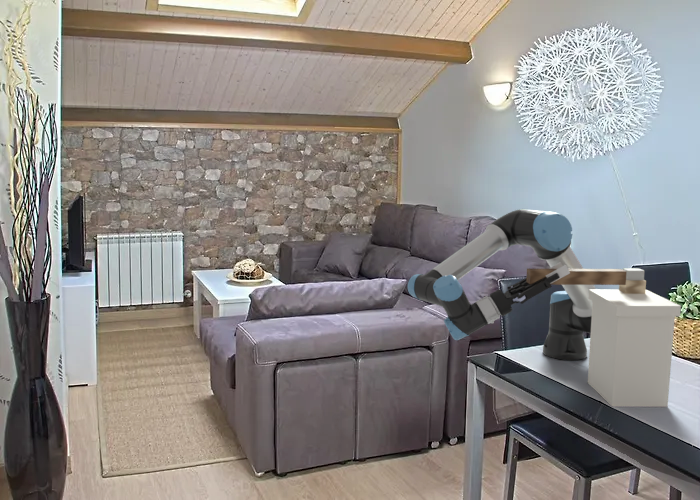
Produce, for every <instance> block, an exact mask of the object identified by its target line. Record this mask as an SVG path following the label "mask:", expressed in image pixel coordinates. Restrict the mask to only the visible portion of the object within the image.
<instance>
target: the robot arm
mask: <svg viewBox="0 0 700 500" xmlns="http://www.w3.org/2000/svg"><path fill="white" fill-rule="evenodd" d="M572 231H573V227H572V224H571V221H570V220H569V219H568V218H567V216H565V215H563V214H561V213H558V212H555V211H550V210H549V211H548V210H546V211H545V210H535V209H528V208H521V209H515V210H512V211H510V212H507V213H506V214H504V215H502V216H500V217H499V218H497V219H495V220H494V221H492V222H491V223H490V224H488V225H487V226H486V228H485V231H484V232H482V233H481V234H480V235H478V236H477V237H476V238H474V239H473V240H471V241H470V242H468V243H467V244H465V245H464V246H463V247H461V248H460V249H459V250H457V251H455V252H454V253H452V255H449V257H447V258H446V259H444V260H443V261H442V262H440V263H439V264H438V265H436V266H435V267H433V268H432V269H431V270H429V271H428V272H426V273H425V274H422V273H420V274H419V273H417V274H413V275H412V276H411V277H410V278H409V280H408V282H407V291H408V294H409V295H410V296H412V297H413V298H414V299H417V300H419V301H423V302H427V303H430V304H432V305H436V306H439V307H442V308H443V310H444V311H445V313H446V315H447V316H446V318H444V320H443V323H444V325H445V326H446V329H447V331H448V332H449V335H451V337H452V339H453V340H455V341H459V340H461V339H463V338H466V337H468V336H470V335H472V334H473V333H474V332H477V331H478V330H480V329H482V328H483V327H485V326H487V325H489V324H491V325H492V324H495V321H497V320H499V319H500V316H501V317H505V316H506V315H508V314H511V313H512V312H513V308H512V305H515V304H521V305H522V304H524V303H526V302H527V301H529V300H530V299H532V298H534V297H536V296H537V295H539V294H541V293H542V292H545V291H546V290H548V289H551V288H552V285H551V283H553V282H555V281H557V280H559V279H561V278H562V277H564V276H566V275H568V274H570V272H569V270H568V269H584V267H583V266H582V264H581V262H580V261H579V259H578V257H577V256H576V254H575V252H574V251H573V249H572V248H571V245H572V239H573V233H572ZM516 245H517V246H525V247H530V248H531V249H532V250H533V252H534V253H535V255H536V256H537V257H538V259H539V260H542V261H546V263H547V264H548V266H549V268H547V269H557V270H555V271H553V272H551V273H549V274H548V275H546V277H544V278H542V279H540V280H538V281H536V282H534V283H532V284H529V283H527V282H526V277H525V278H523V279H522V280H519V281H518V282H515V283H514V284H511V285H509V286H507V287H506V289H507V290H506V291H505V292H503V290H501V289H500V288H499V289H496V290H495V291H493V292H492V293H490V294H489V296H488V295H485V296H484V297H482V298H480V299H478V300H476V301H475V302H473V303H471V302H470V301H469V298H468V297H467V295H466V293H465V290H464V288H463V286H462V284H461V283H460V282H459V280H460V279H462V278H463V277H465V276H466V275H467V274H468V273H470V272H471V271H473V270H474V269H476V268H477V267H479V266H480V265H481V264H482V263H484V262H485V261H487V260H488V259H489V258H491V257H492V256H493V255H495V254H496V253H497V252H499V251H506V250H507V249H508V248H509V247H512V246H516ZM561 286H562V288H563V289H564V290H559V291H555V292H553V293H551V294H550V301H549V320H548V322H549V323H548V333H547V335H546V338H545V340H544V343H543V345H542V353H543V354H544V355H545V356H547V357H550V358H552V359H557V360H562V361H563V360H564V361H578V360H584V359H585V358H587V354H588V349H587V346H586V342H585V339H584V333H588V334H590V335H591V319H592V303H593V301H591V300H589V299H588V296H589V289H597V288H596V286H595V285H561Z"/></svg>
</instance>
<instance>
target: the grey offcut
mask: <svg viewBox="0 0 700 500" xmlns="http://www.w3.org/2000/svg"><path fill="white" fill-rule="evenodd" d="M622 270H624V271H627V272H626V280H645V270H644V269H641V268H639V267H638V268H634V267H630V268H628V267H627V268H625V267H624V268H622Z"/></svg>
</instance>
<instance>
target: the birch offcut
mask: <svg viewBox="0 0 700 500" xmlns="http://www.w3.org/2000/svg"><path fill="white" fill-rule="evenodd" d="M646 285H647V280H645V279H644V280H626V285H618V290H620V291H621V292H623V293H625V294H645V290H647V289H646V288H647V286H646Z"/></svg>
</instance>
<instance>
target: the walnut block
mask: <svg viewBox="0 0 700 500" xmlns="http://www.w3.org/2000/svg"><path fill="white" fill-rule="evenodd" d="M555 270H557V269H548V268H526V277H525V278H526V282H527V283H529V284H532V283H534V282H536V281H538V280H540V279H542V278H544V277H546V275H548V274H549V273H551V272H553V271H555ZM568 270H569V272H570V274H568V275H566V276H564V277H562V278H561V279H559V280H557V281H555V282H553V283H551V286H552V285H553V286H554V285H555V286H559V285H561V286H562V285H594V286H600V285H601V286H619V285H626V272H627V271H624V270H623V268H583V269H568Z"/></svg>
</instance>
